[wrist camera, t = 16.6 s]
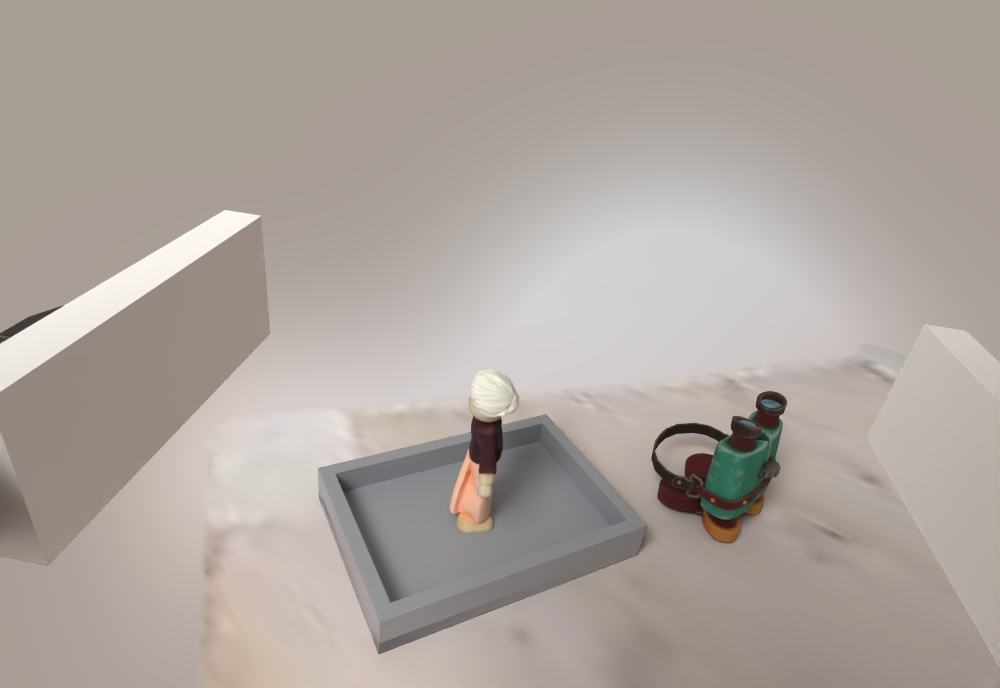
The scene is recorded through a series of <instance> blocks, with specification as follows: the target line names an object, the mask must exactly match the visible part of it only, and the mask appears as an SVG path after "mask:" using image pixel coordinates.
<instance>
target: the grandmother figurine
mask: <svg viewBox="0 0 1000 688" xmlns="http://www.w3.org/2000/svg"><path fill="white" fill-rule="evenodd" d="M471 386H472V387H471V392H470V393H471V396H470V399H469V408H470V411H471V413H472V414H473V419H472V424H471V441H470V445H469V449H468V451H467V454H466V458H465V460H464V462H463V465H462V467H461V470H460V473H459V476H458V479H457V482H456V484H455V487H454V491H453V494H452V498H451V503H450V511H451V513H453V514H456V513H458V512H461V513H460V514H459V515H458V517H457V527H458V528H459V529H460V530H461V531H462V532H465V533H477V532H487V531H490V530H491V529H492V528H493V526H494V521H493V518H492V517H491V515H489V514H490V510H491V506H492V504H493V499H492V497H491V495H492V484H493V482H494V478H495V476H496V472H497V468H498V464H499V460H500V457H501V454H502V450H503V437H502V434H503V433H502V426H501V425H502V420H501V417H504V416H505V415H506V414H512V413H514V412H515V411H516V410H517V408H518V403H519V396H518V394H517V392H516V390H515V389H514V386H513V383H512V381H511V380H510V379H509V378H508V377H507V376H505V375H503V374H502V373H500V372H499V371H496V370H494V369H484V370H481V371H478V372H477V374H476V375H475V377H474V379H473V382H472V385H471Z"/></svg>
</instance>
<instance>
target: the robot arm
mask: <svg viewBox="0 0 1000 688" xmlns="http://www.w3.org/2000/svg"><path fill="white" fill-rule="evenodd" d="M267 299H268V298H267V285H266V272H265V259H264V247H263V233H262V220H261V216H258V215H252V214H246V213H240V212H233V211H228V210H225V211H223V212H221V213H219V214H218V215H216V216H214V217H213V218H211V219H209V220H208V221H206V222H204V223H203V224H201V225H199V226H198V227H196V228H194V229H193V230H191V231H189V232H187V233H186V234H184V235H183V236H181V237H179V238H177V239H176V240H174V241H172V242H171V243H169V244H167V245H166V246H164V247H162V248H160V249H159V250H157V251H155V252H154V253H152V254H150V255H149V256H147V257H145V258H144V259H142V260H140V261H139V262H137V263H135V264H134V265H132V266H130V267H129V268H127V269H125V270H123V271H122V272H120V273H118V274H117V275H115V276H113V277H112V278H110V279H108V280H107V281H105V282H103V283H102V284H100V285H98V286H97V287H95V288H93V289H91V290H90V291H88V292H87V293H85V294H83V295H81V296H80V297H78V298H76V299H75V300H73V301H71V302H70V303H68V304H66V305H63V306H60V307H57V308H54V309H52V310H49V311H45V312H42V313H39V314H36V315H33V316H31V317H28V318H26V319H24V320H23V321H21V322H19V323H17V324H16V325H14V326H13V327H11V328H9V329H7V330H5V331H3V332H2V333H0V556H2V557H7V558H12V559H17V560H21V561H27V562H31V563H36V564H41V565H46V566H48V565H49V564H50V563H51V562H52V561H53V560H54V559H55V558H56V557H57V556H58V555H59V554H60V553H61V552H62V551H63V550H64V549H65V548H66V546H67V545H68V544H69V543H70V542H71V541H72V540H73V539H74V538H75V537H76V536H77V535H78V534H79V533H80V532H81V531H82V530H83V528H85V527H86V525H88V523H89V522H90V521H91V520H92V519H93V518H94V517H95V516H96V515H97V514H98V513H99V512H100V511H101V510H102V509H103V508H104V507H105V506H106V504H108V503H109V501H110V500H111V499H112V498H113V497H114V496H115V495H116V494H117V493H118V492H119V491H120V490H121V489H122V488H123V487H124V486H125V485H126V484H127V483H128V482H129V480H131V479H132V477H133V476H134V475H135V474H136V473H137V472H138V471H139V470H140V469H141V468H142V467H143V466H144V465H145V464H146V463H147V462H148V461H149V460H150V459H151V458H152V457H153V456H154V454H155V453H156V452H157V451H158V450H159V449H160V448H161V447H162V446H163V445H164V444H165V443H166V442H167V441H168V440H169V439H170V438H171V436H173V434H175V433H176V431H177V430H178V429H179V428H180V427H181V426H182V425H183V424H184V423H185V422H186V421H187V420H188V419H189V418H190V417H191V416H192V415H193V413H195V412H196V411H197V410H198V408H199V407H200V406H201V405H202V404H203V403H204V402H205V401H206V400H207V399H208V398H209V397H210V396H211V395H212V394H213V393H214V392H215V391H216V390H217V388H219V387H220V385H221V384H222V383H223V382H224V381H225V380H226V379H227V378H228V377H229V376H230V375H231V374H232V373H233V372H234V371H235V370H236V368H237V367H239V365H240V364H241V363H242V362H243V361H244V360H245V359H246V358H247V357H248V356H249V355H250V354H251V353H252V352H253V351H254V350H255V349H256V348H257V347H258V346H259V345H260V344H261V342H262V341H263V340H264V339H265V338H266V337H267V336H268V335H269V334H270V325H269V312H268V300H267ZM866 439H867V441H868V442H869V444H870V446H871V448H872V449H873V451H874V453H875V454H876V456H877V458H878V460H879V461H880V463H881V465H882V466H883V468H884V470H885V472H886V473H887V475H888V477H889V479H890V480H891V482H892V484H893V485H894V487H895V489H896V491H897V492H898V494H899V496H900V497H901V499H902V501H903V503H904V504H905V506H906V508H907V509H908V511H909V513H910V515H911V516H912V518H913V520H914V522H915V523H916V525H917V527H918V528H919V530H920V532H921V534H922V535H923V537H924V539H925V540H926V542H927V544H928V546H929V547H930V549H931V551H932V553H933V554H934V556H935V558H936V559H937V561H938V563H939V565H940V566H941V568H942V570H943V571H944V573H945V575H946V577H947V578H948V580H949V582H950V583H951V585H952V587H953V589H954V590H955V592H956V594H957V596H958V597H959V599H960V601H961V602H962V604H963V606H964V608H965V609H966V611H967V613H968V614H969V616H970V618H971V620H972V621H973V623H974V625H975V626H976V628H977V630H978V632H979V633H980V635H981V637H982V639H983V640H984V642H985V644H986V645H987V647H988V649H989V651H990V652H991V654H992V656H993V657H994V659H995V661H996V663H997V664H998V666H999V668H1000V363H999V362H998V361H997V360H996V359H995V358H994V357H993V356H992V355H991V354H990V353H989V352H988V351H986V349H984V348H983V347H982V346H981V345H980V344H979V343H978V342H977V341H976V340H975V339H974V338H973V337H972V336H971V335H970V334H969V333H968V332H967V331H963V330H956V329H951V328H945V327H939V326H933V325H926V324H924V326H923V328H922V330H921V332H920V334H919V336H918V338H917V340H916V342H915V344H914V346H913V348H912V350H911V352H910V353H909V355H908V357H907V359H906V361H905V363H904V365H903V367H902V369H901V371H900V373H899V375H898V377H897V379H896V380H895V382H894V384H893V386H892V388H891V390H890V392H889V394H888V396H887V398H886V400H885V402H884V404H883V406H882V408H881V410H880V412H879V413H878V415H877V417H876V419H875V421H874V423H873V425H872V427H871V429H870V431H869V433H868V435H867V437H866Z"/></svg>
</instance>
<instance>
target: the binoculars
mask: <svg viewBox="0 0 1000 688" xmlns="http://www.w3.org/2000/svg"><path fill="white" fill-rule="evenodd" d="M786 405H787V400H786V398H785V397H784V396H783V395H781V394H779V393H777V392H772V391H767V392H763V393H761V394H759V395H758V397H757V402H756V408H757V409H758V411H755V412H753V413H752V414H751V416H750V417H749V419H747V418H744V417H740V416H733V417H732V423H731V430H732V431H733V433H732V435H730V436H729V435H728V434H724V433H723V432H721V431H719V430H718V429H715V428H713V427H711V426H708V425H704V424H698V423H686V424H676V425H674V426H671V427H669V428H666V429H665V430H664V431H663V432H662V433H661V434H660V435H659V436H658V438H657V439H656V441H655V444H654V448H653V453H652V458H651V459H652V462H653V466H654V469H655V471H656V472H657V473H658V474H659V475H660V476H661V478H662V480H661V481H660V484H659V490H658V499H659V500H660V501H661V502H662V503H663V504H665V505H667V506H669V507H671V508H674V509H678V510H683V511H695V512H697V513H699V514H703V516H702V521H703V524H704V526H705V528H706V530H707V531H708V533H709V534H710V535H711V536H713V537H714V538H715V539H717V540H719V541H722V542H733V541H735V540H736V538H737V536H738V533H739V530H740V521H739V519H738V518H737V517H738V516H740V515H741V514H743V513H744V512H745V513H748V514H758V513H759V512H760V511H761V508H762V505H763V503H764V496H763V493H764V491H765V490H766V488H767V486H768V483H769V482H770V480H771V478H773V477H776V476H777V475H778V474H779V470H780V466H779V463H778V462H776V460H775V456H776V452H777V448H778V444H779V439H780V435H781V431H782V421H781V420H780V419H779V416H780V415H782V414H783V413H784V410H785V408H786ZM682 433H697V434H703V435H707V436H709V437H711V438H713V439H715V440H717V441H719V443H718V444H717V447H716V449H715V453H714V456H713V455H710V454H703V453H700V454H694V455H692V456H690V457H688V458H687V460H686V463H685V476H686V477H683V476H678V475H675V474H673V473H672V472H670V471H668V470H666V468H665V467H664V466H663V465H662V464H661V463H660V462H659V461H658V459H657V456H656V452H655V450H656V448H657V447H658V445H659V444H660V443H661V442H662V441H663V440H664V439H665V438H668V437H670V436H672V435H675V434H682ZM697 486H699V487H697ZM701 506H702V508H703V509H702V508H701Z"/></svg>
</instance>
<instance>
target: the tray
mask: <svg viewBox="0 0 1000 688" xmlns="http://www.w3.org/2000/svg"><path fill="white" fill-rule="evenodd" d="M501 426H502V433H503V434H502V437H503V450H502V454H501V457H500V460H499V464H498V468H497V472H496V476H495V478H494V482H493V484H492V495H491V497H492V499H493V504H492V506H491V510H490V514H489V515H491V517H492V518H493V521H494V526H493V528H492V529H491V530H490V531H487V532H477V533H465V532H462V531H461V530H460V529H459V528H458V527H457V517H458V515H459V514H460V513H461V512H458V513H456V514H453V513H451V511H450V503H451V498H452V494H453V491H454V487H455V484H456V482H457V479H458V476H459V473H460V470H461V467H462V465H463V462H464V460H465V458H466V454H467V451H468V449H469V445H470V441H471V432H469V433H465V434H461V435H457V436H453V437H448V438H444V439H440V440H436V441H431V442H427V443H423V444H419V445H414V446H410V447H406V448H402V449H397V450H393V451H389V452H385V453H380V454H376V455H372V456H368V457H363V458H359V459H355V460H351V461H346V462H342V463H338V464H334V465H329V466H325V467H321V468H318V480H319V499H320V502H321V504H322V507H323V509H324V512H325V515H326V517H327V520H328V522H329V525H330V528H331V530H332V533H333V536H334V538H335V541H336V543H337V546H338V549H339V551H340V554H341V557H342V559H343V562H344V564H345V567H346V570H347V572H348V575H349V578H350V580H351V583H352V585H353V588H354V591H355V593H356V596H357V598H358V601H359V604H360V606H361V609H362V612H363V614H364V617H365V619H366V622H367V625H368V627H369V630H370V633H371V635H372V638H373V640H374V643H375V646H376V648H377V651H378V654H380V653H383V652H385V651H388V650H391V649H393V648H396V647H398V646H401V645H404V644H406V643H409V642H411V641H414V640H417V639H419V638H422V637H424V636H427V635H430V634H432V633H435V632H437V631H440V630H443V629H445V628H448V627H450V626H453V625H456V624H458V623H461V622H463V621H466V620H469V619H471V618H474V617H476V616H479V615H482V614H484V613H487V612H489V611H492V610H495V609H497V608H500V607H502V606H505V605H508V604H510V603H513V602H515V601H518V600H521V599H523V598H526V597H528V596H531V595H534V594H536V593H539V592H541V591H544V590H547V589H549V588H552V587H554V586H557V585H560V584H562V583H565V582H568V581H570V580H573V579H575V578H578V577H581V576H583V575H586V574H588V573H591V572H594V571H596V570H599V569H601V568H604V567H607V566H609V565H612V564H614V563H617V562H620V561H622V560H625V559H627V558H630V557H633V556H635V555H638V552H639V549H640V546H641V543H642V539H643V536H644V533H645V530H646V527H647V525H646V524H645V523H644V522H643V521H642V520H641V519H640V518H639V517H638V515H637V514H636V513H635V512H634V511H633V510H632V509H631V508H630V507H629V505H628V504H627V503H626V502H625V501H624V500H623V499H622V498H621V497H620V495H619V494H618V493H617V492H616V491H615V490H614V489H613V488H612V487H611V486H610V484H609V483H608V482H607V481H606V480H605V479H604V478H603V477H602V476H601V474H600V473H599V472H598V471H597V470H596V469H595V468H594V467H593V466H592V464H591V463H590V462H589V461H588V460H587V459H586V458H585V457H584V456H583V455H582V453H581V452H580V451H579V450H578V449H577V448H576V447H575V446H574V445H573V443H572V442H571V441H570V440H569V439H568V438H567V437H566V436H565V435H564V433H563V432H562V431H561V430H560V429H559V428H558V427H557V426H556V425H555V424H554V422H553V421H552V420H551V419H550V418H549V417H548V416H547V415H542V416H537V417H533V418H529V419H525V420H520V421H516V422H512V423H508V424H503V425H501Z"/></svg>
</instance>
